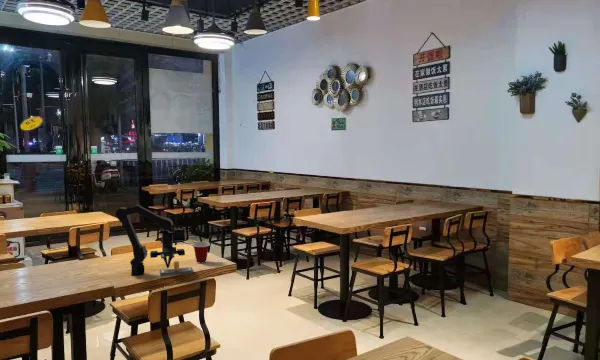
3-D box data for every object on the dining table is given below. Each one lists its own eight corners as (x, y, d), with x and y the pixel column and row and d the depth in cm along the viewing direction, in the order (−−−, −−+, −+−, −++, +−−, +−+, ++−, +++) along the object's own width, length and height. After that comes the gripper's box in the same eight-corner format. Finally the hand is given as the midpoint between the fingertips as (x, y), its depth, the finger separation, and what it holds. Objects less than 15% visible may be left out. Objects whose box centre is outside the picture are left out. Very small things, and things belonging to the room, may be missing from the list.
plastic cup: (194, 265, 272) (193, 245, 272) (191, 261, 282) (191, 242, 282) (211, 263, 276) (211, 244, 276) (208, 259, 286) (208, 241, 286)
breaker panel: (160, 275, 248) (160, 273, 248) (159, 272, 255) (159, 269, 255) (193, 273, 254) (193, 270, 254) (191, 269, 262) (191, 266, 262)
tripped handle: (174, 270, 252) (174, 262, 252) (173, 268, 256) (173, 261, 256) (178, 270, 253) (178, 262, 253) (178, 268, 257) (178, 260, 257)
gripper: (150, 245, 241) (151, 273, 242) (185, 242, 248) (186, 270, 249) (149, 241, 252) (150, 268, 253) (183, 238, 258) (184, 265, 259)
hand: (167, 268), depth 253 cm, fingers closed
